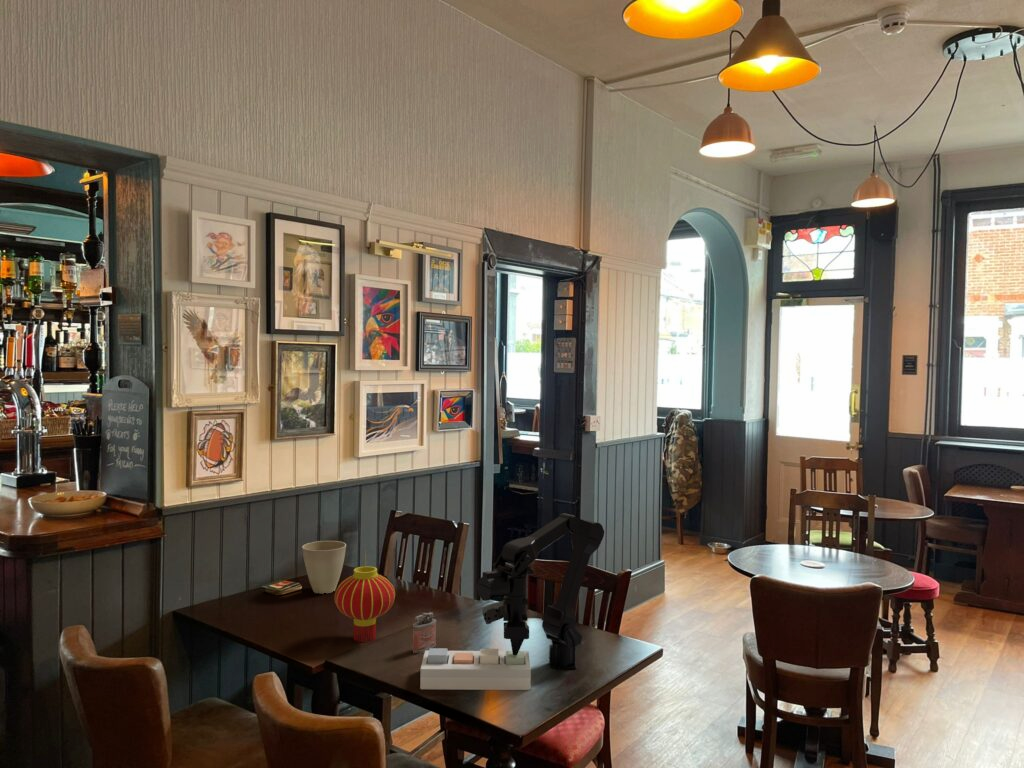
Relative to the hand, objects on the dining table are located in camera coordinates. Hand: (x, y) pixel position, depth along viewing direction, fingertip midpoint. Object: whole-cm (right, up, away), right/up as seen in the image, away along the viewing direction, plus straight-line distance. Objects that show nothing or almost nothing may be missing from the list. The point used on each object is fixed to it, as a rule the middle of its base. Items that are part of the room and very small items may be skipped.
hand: (515, 654), depth 191 cm
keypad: (-10, -6, 0) cm, 12 cm away
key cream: (-7, -2, 0) cm, 7 cm away
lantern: (-43, -5, +27) cm, 52 cm away
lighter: (-25, -6, +20) cm, 33 cm away
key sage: (0, -3, 0) cm, 3 cm away
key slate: (-20, -2, 0) cm, 20 cm away
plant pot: (-66, -4, +72) cm, 98 cm away
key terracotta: (-13, -3, 0) cm, 13 cm away
